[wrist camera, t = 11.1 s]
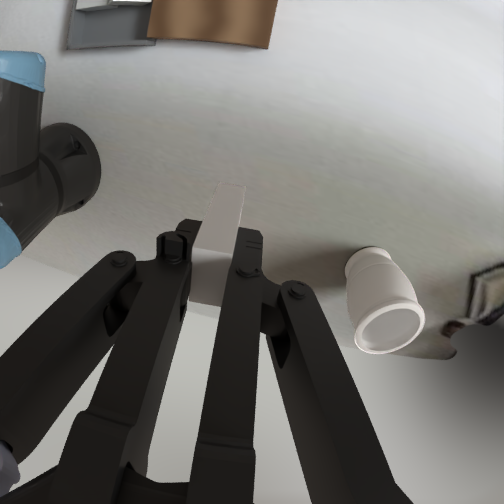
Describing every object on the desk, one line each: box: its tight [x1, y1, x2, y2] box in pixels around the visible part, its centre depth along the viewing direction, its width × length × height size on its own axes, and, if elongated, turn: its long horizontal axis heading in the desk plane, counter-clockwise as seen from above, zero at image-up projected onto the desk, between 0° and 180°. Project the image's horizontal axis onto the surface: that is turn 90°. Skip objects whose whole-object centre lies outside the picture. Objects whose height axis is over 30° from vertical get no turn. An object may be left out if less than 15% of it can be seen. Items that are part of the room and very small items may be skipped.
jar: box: [345, 247, 425, 354], centre depth 45 cm, size 11×10×15 cm
